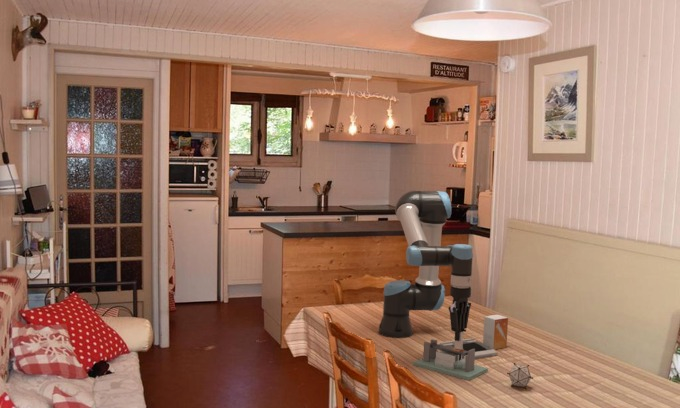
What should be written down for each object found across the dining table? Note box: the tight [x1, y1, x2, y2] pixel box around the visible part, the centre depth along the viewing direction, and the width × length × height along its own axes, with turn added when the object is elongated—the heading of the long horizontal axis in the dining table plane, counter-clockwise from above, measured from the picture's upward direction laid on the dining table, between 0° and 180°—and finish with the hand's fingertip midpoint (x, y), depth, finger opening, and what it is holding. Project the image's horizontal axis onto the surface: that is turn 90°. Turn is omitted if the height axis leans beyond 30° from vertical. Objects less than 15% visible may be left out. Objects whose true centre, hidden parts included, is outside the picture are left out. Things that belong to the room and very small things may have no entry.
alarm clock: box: [439, 337, 498, 360], centre depth 271 cm, size 17×5×16 cm
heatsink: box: [435, 350, 465, 370], centre depth 251 cm, size 8×9×6 cm
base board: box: [412, 338, 489, 381], centre depth 250 cm, size 24×14×9 cm, turn 50°
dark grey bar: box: [430, 342, 468, 356], centre depth 251 cm, size 17×3×2 cm, turn 50°
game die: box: [506, 362, 534, 390], centre depth 233 cm, size 9×8×10 cm
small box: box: [482, 314, 509, 351], centre depth 280 cm, size 8×6×13 cm
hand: (458, 348), depth 248 cm, fingers closed
